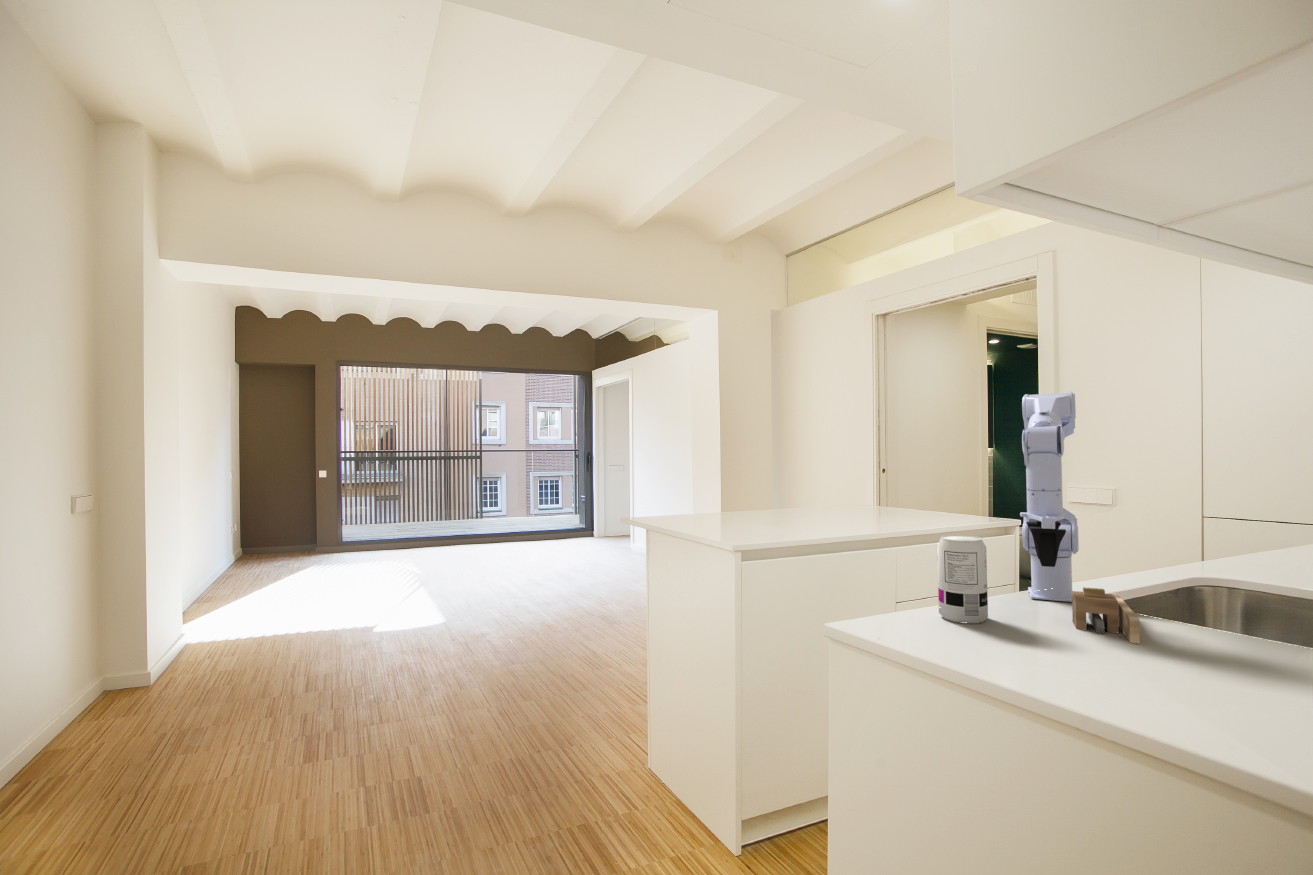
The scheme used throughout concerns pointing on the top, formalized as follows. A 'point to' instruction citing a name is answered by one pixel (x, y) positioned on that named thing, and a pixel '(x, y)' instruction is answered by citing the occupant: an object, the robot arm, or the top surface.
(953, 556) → the supplement can
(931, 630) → the top surface
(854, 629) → the top surface
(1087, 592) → the cabinet block
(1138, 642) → the cleat board
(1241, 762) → the top surface
